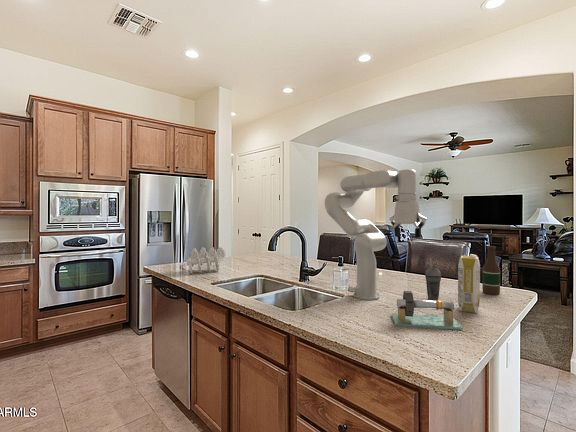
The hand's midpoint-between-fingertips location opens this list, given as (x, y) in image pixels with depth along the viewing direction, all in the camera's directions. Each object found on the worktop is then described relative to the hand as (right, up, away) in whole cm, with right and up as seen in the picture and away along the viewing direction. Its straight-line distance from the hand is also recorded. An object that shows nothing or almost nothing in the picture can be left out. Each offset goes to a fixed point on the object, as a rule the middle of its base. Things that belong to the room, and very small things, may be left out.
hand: (407, 237), depth 140 cm
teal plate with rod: (0, -32, -17) cm, 36 cm away
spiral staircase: (-110, -30, +83) cm, 141 cm away
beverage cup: (+17, -31, +13) cm, 38 cm away
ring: (-6, -29, -16) cm, 34 cm away
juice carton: (+25, -31, -3) cm, 40 cm away
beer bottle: (+52, -30, +24) cm, 65 cm away
